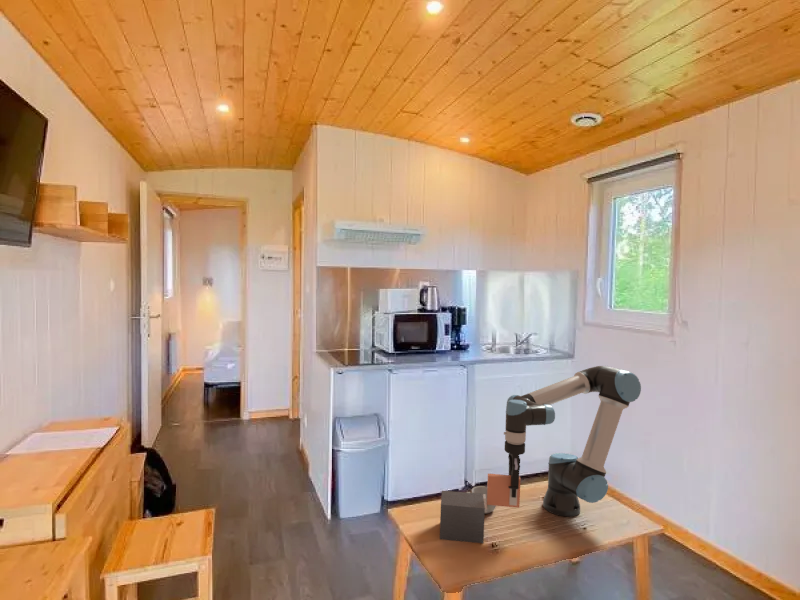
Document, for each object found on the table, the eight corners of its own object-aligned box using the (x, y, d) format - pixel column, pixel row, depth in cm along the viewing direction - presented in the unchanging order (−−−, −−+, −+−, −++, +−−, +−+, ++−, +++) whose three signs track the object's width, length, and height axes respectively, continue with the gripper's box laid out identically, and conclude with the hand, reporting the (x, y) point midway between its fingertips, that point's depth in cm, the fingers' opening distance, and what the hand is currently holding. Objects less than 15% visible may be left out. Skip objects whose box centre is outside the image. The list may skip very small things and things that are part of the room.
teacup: (495, 505, 200) (495, 486, 200) (498, 517, 189) (498, 498, 189) (462, 502, 202) (463, 484, 201) (463, 514, 191) (464, 495, 190)
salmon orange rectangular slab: (518, 504, 177) (519, 476, 177) (519, 507, 174) (520, 478, 174) (486, 501, 178) (487, 473, 178) (487, 504, 176) (488, 476, 176)
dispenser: (484, 526, 181) (485, 494, 181) (486, 543, 170) (487, 508, 169) (440, 522, 183) (441, 490, 183) (439, 539, 172) (440, 504, 171)
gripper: (502, 434, 183) (500, 493, 184) (507, 447, 168) (504, 511, 169) (522, 435, 183) (519, 494, 183) (528, 449, 167) (525, 513, 168)
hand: (512, 502), depth 176 cm, fingers closed on salmon orange rectangular slab, 2 cm apart
